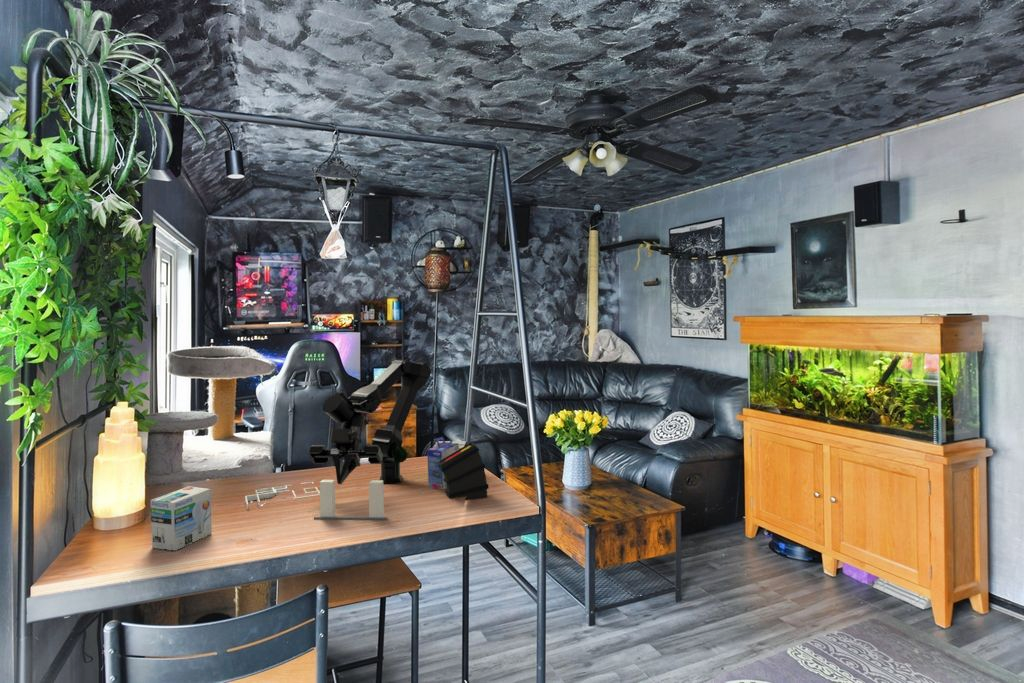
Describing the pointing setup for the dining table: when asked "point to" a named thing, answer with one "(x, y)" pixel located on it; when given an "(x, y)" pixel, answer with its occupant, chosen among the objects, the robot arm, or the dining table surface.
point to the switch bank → (350, 518)
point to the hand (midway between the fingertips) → (339, 483)
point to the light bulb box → (181, 518)
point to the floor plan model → (273, 493)
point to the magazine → (464, 473)
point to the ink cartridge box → (434, 457)
